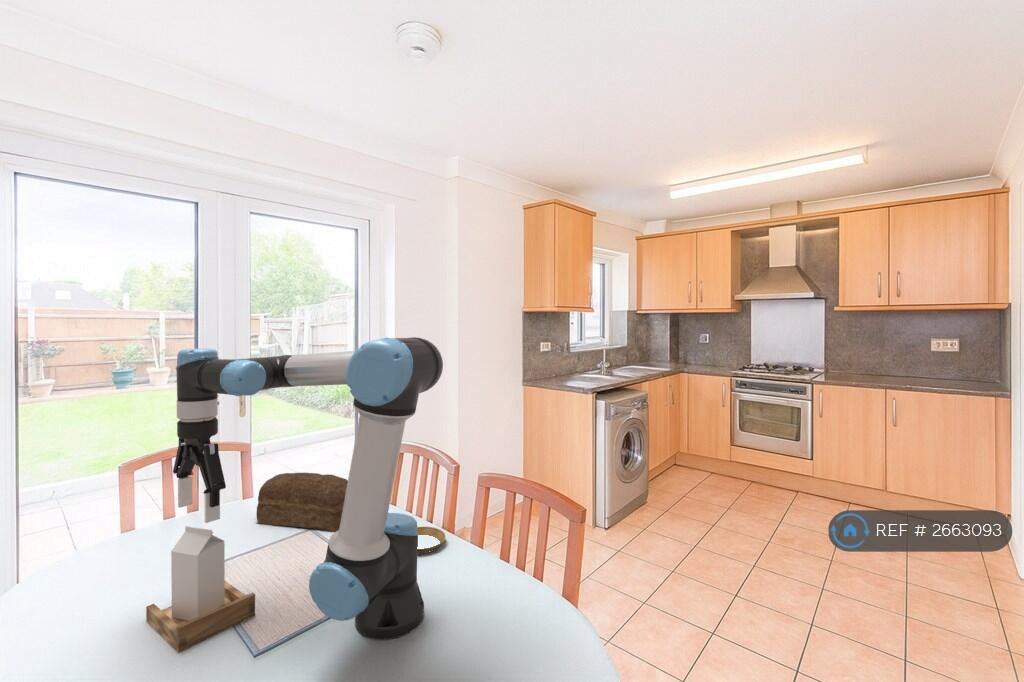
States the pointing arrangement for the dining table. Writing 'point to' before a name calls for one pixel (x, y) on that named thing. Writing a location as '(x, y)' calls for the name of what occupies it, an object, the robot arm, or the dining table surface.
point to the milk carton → (197, 574)
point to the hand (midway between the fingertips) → (198, 513)
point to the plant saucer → (431, 532)
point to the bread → (302, 501)
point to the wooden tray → (202, 620)
